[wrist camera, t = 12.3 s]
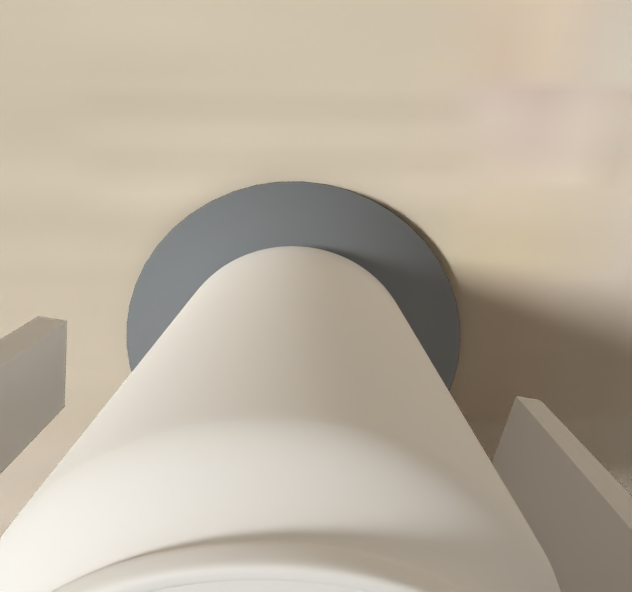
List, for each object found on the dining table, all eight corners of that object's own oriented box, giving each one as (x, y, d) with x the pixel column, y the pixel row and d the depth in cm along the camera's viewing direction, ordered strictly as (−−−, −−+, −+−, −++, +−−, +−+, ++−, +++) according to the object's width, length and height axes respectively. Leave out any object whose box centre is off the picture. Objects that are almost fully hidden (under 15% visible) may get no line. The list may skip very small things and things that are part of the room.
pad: (143, 148, 14) (139, 148, 14) (499, 218, 15) (503, 220, 15) (120, 458, 18) (116, 465, 18) (410, 501, 19) (412, 508, 19)
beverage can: (134, 349, 16) (-288, 826, 5) (296, 190, 15) (261, 326, 3) (291, 483, 18) (265, 1057, 7) (450, 355, 16) (779, 817, 5)
